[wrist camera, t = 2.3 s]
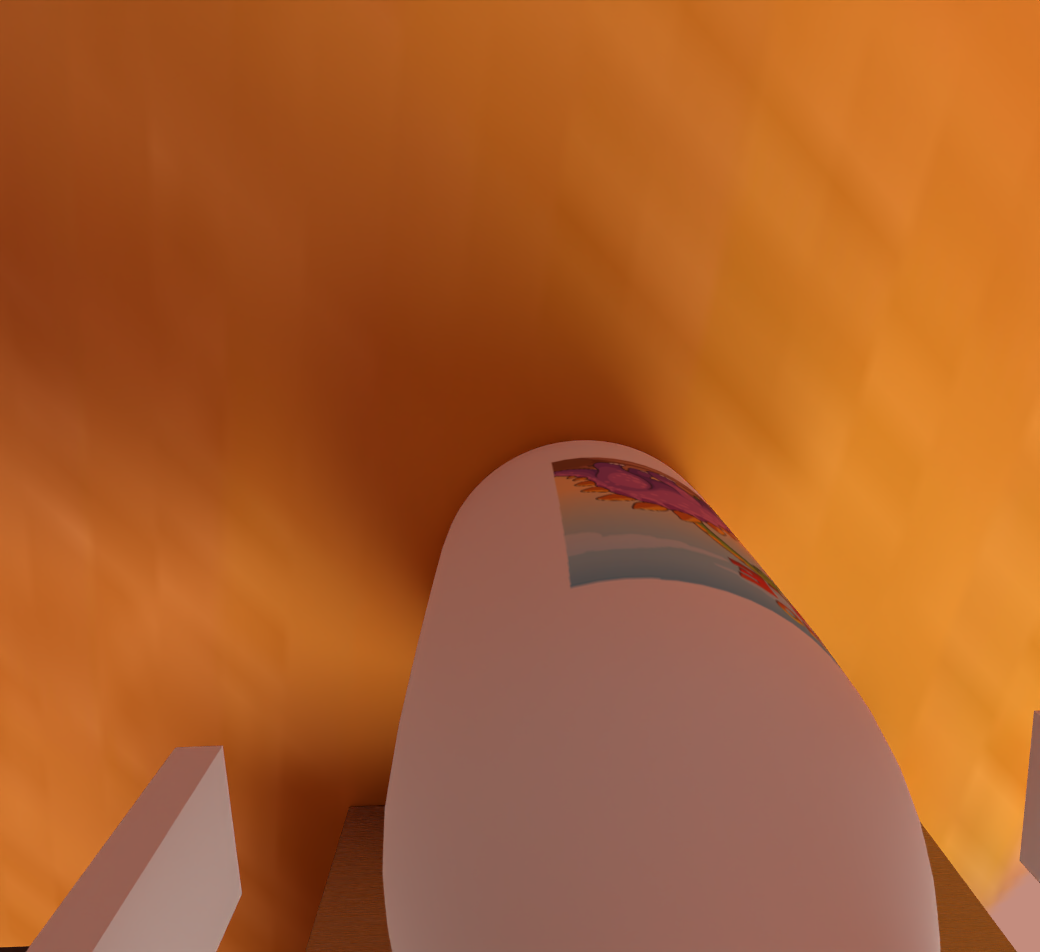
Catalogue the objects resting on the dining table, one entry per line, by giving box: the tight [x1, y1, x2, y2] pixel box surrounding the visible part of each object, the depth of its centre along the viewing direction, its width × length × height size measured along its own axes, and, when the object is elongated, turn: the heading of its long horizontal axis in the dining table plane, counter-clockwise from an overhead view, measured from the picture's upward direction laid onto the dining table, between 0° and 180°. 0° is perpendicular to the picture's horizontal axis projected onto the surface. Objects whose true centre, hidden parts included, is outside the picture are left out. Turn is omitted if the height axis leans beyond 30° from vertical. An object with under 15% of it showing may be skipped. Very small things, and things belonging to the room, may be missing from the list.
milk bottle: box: [383, 440, 940, 952], centre depth 14 cm, size 8×8×20 cm
